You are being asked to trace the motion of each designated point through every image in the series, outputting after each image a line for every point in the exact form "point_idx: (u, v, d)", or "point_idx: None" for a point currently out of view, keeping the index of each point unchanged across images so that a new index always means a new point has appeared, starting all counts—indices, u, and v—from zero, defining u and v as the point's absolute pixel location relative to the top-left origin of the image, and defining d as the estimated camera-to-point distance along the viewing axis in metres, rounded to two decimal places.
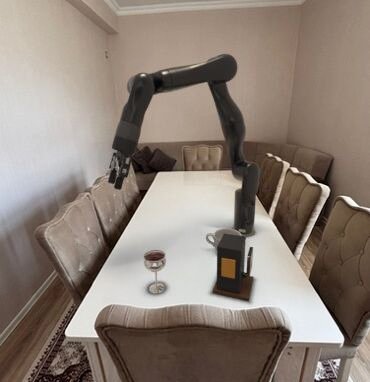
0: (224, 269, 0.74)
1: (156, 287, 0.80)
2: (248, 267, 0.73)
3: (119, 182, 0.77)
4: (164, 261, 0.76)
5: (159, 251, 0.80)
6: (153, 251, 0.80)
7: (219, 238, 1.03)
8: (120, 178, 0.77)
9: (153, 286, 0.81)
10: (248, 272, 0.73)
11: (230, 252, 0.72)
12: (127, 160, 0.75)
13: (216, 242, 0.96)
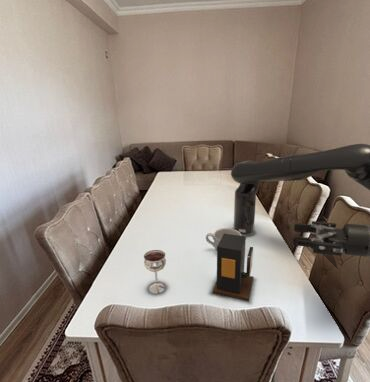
0: (224, 269, 0.74)
1: (156, 287, 0.80)
2: (248, 267, 0.73)
3: None
4: (164, 261, 0.76)
5: (159, 251, 0.80)
6: (153, 251, 0.80)
7: (219, 238, 1.03)
8: None
9: (153, 286, 0.81)
10: (248, 272, 0.73)
11: (230, 252, 0.72)
12: None
13: (216, 242, 0.96)
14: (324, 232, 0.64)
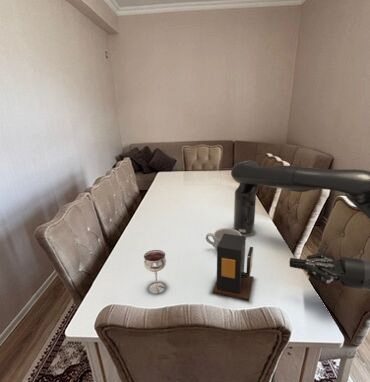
0: (224, 269, 0.74)
1: (156, 287, 0.80)
2: (248, 267, 0.73)
3: None
4: (164, 261, 0.76)
5: (159, 251, 0.80)
6: (153, 251, 0.80)
7: (219, 238, 1.03)
8: None
9: (153, 286, 0.81)
10: (248, 272, 0.73)
11: (230, 252, 0.72)
12: None
13: (216, 242, 0.96)
14: None
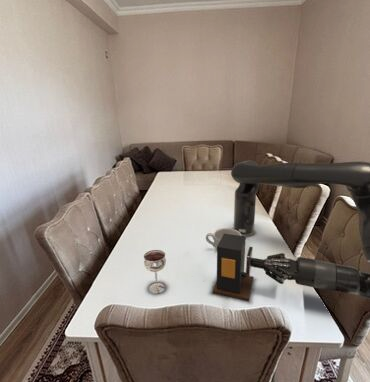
0: (224, 269, 0.74)
1: (156, 287, 0.80)
2: (248, 267, 0.73)
3: None
4: (164, 261, 0.76)
5: (159, 251, 0.80)
6: (153, 251, 0.80)
7: (219, 238, 1.03)
8: None
9: (153, 286, 0.81)
10: (247, 272, 0.73)
11: (230, 252, 0.72)
12: None
13: (216, 242, 0.96)
14: None
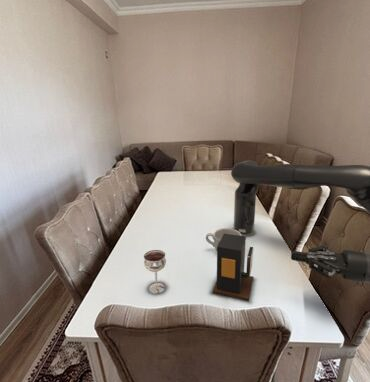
0: (224, 269, 0.74)
1: (156, 287, 0.80)
2: (248, 267, 0.73)
3: None
4: (164, 261, 0.76)
5: (159, 251, 0.80)
6: (153, 251, 0.80)
7: (219, 238, 1.03)
8: None
9: (153, 286, 0.81)
10: (248, 272, 0.73)
11: (230, 252, 0.72)
12: None
13: (216, 242, 0.96)
14: None
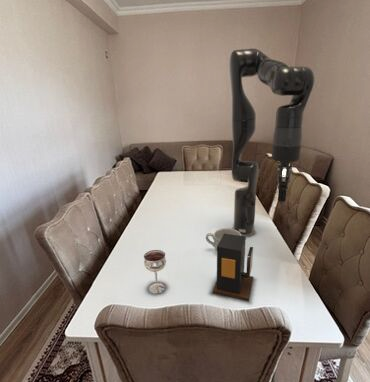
0: (224, 269, 0.74)
1: (156, 287, 0.80)
2: (248, 267, 0.73)
3: None
4: (164, 261, 0.76)
5: (159, 251, 0.80)
6: (153, 251, 0.80)
7: (219, 238, 1.03)
8: None
9: (153, 286, 0.81)
10: (248, 272, 0.73)
11: (230, 252, 0.72)
12: None
13: (216, 242, 0.96)
14: None
